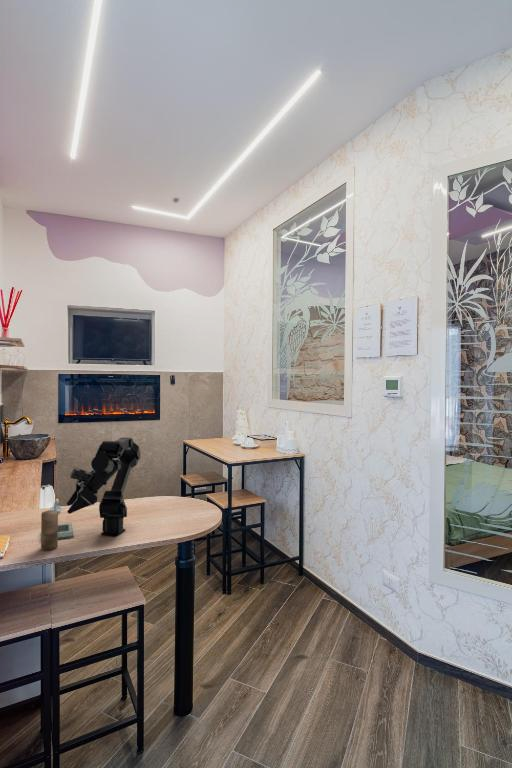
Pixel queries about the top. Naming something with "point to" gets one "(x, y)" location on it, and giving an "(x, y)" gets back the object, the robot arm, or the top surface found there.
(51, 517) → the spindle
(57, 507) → the pacifier
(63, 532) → the green square tray
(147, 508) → the top surface
